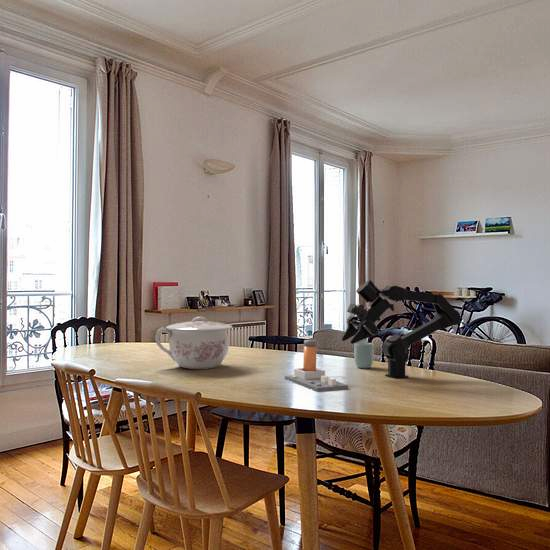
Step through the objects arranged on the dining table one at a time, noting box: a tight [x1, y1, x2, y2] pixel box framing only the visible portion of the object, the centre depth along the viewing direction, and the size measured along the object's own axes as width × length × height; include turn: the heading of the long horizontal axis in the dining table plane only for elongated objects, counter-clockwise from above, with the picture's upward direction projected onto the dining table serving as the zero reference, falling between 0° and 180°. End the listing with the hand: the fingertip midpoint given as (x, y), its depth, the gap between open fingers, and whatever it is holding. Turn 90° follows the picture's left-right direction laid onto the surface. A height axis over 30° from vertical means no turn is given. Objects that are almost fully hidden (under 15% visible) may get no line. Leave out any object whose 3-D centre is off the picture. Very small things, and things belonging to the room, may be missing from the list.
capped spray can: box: [302, 339, 318, 372], centre depth 202 cm, size 5×5×13 cm
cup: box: [353, 341, 375, 369], centre depth 230 cm, size 8×8×10 cm
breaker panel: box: [284, 367, 349, 392], centre depth 196 cm, size 24×12×4 cm, turn 25°
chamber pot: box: [154, 316, 234, 370], centre depth 230 cm, size 28×28×21 cm
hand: (346, 341), depth 206 cm, fingers open, 9 cm apart
